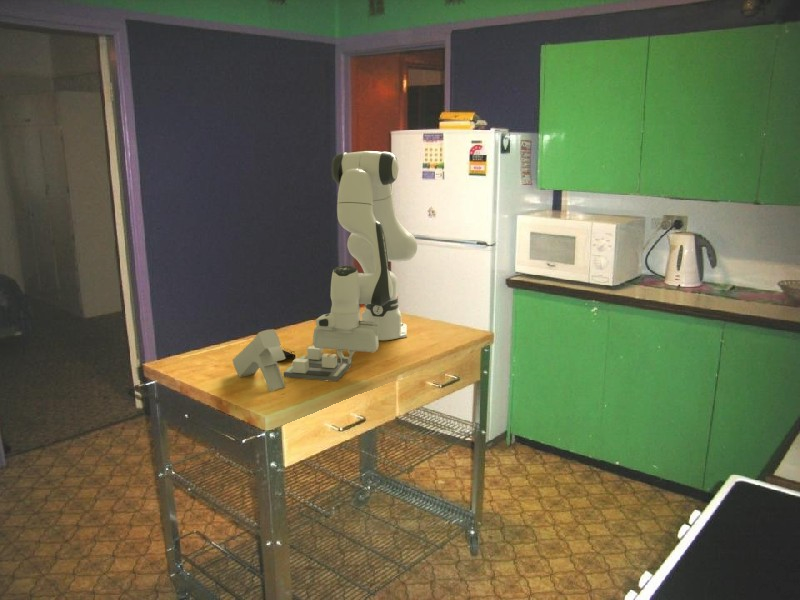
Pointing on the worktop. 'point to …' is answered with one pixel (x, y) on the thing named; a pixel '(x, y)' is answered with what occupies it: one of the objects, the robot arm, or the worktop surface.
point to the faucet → (262, 359)
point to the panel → (319, 370)
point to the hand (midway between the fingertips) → (345, 363)
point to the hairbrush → (288, 354)
